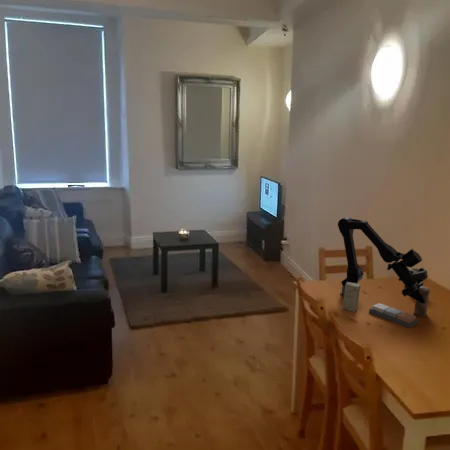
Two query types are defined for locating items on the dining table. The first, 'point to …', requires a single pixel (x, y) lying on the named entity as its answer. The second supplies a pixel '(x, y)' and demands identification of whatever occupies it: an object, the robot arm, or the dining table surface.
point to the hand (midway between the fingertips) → (425, 301)
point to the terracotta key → (406, 317)
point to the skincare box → (351, 296)
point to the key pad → (390, 314)
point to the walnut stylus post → (421, 307)
